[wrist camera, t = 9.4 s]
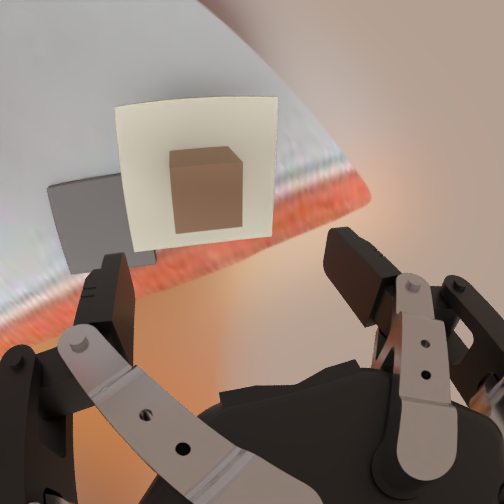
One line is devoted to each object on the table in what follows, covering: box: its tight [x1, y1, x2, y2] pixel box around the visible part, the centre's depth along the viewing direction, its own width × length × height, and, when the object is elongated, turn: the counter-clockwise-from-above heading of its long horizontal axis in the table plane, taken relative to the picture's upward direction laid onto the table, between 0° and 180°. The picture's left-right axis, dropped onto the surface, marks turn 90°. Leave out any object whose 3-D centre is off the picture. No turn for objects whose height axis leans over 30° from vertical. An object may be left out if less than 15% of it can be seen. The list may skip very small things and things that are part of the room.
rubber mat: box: [47, 173, 156, 274], centre depth 35 cm, size 13×13×1 cm
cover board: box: [115, 96, 278, 252], centre depth 19 cm, size 11×11×5 cm
